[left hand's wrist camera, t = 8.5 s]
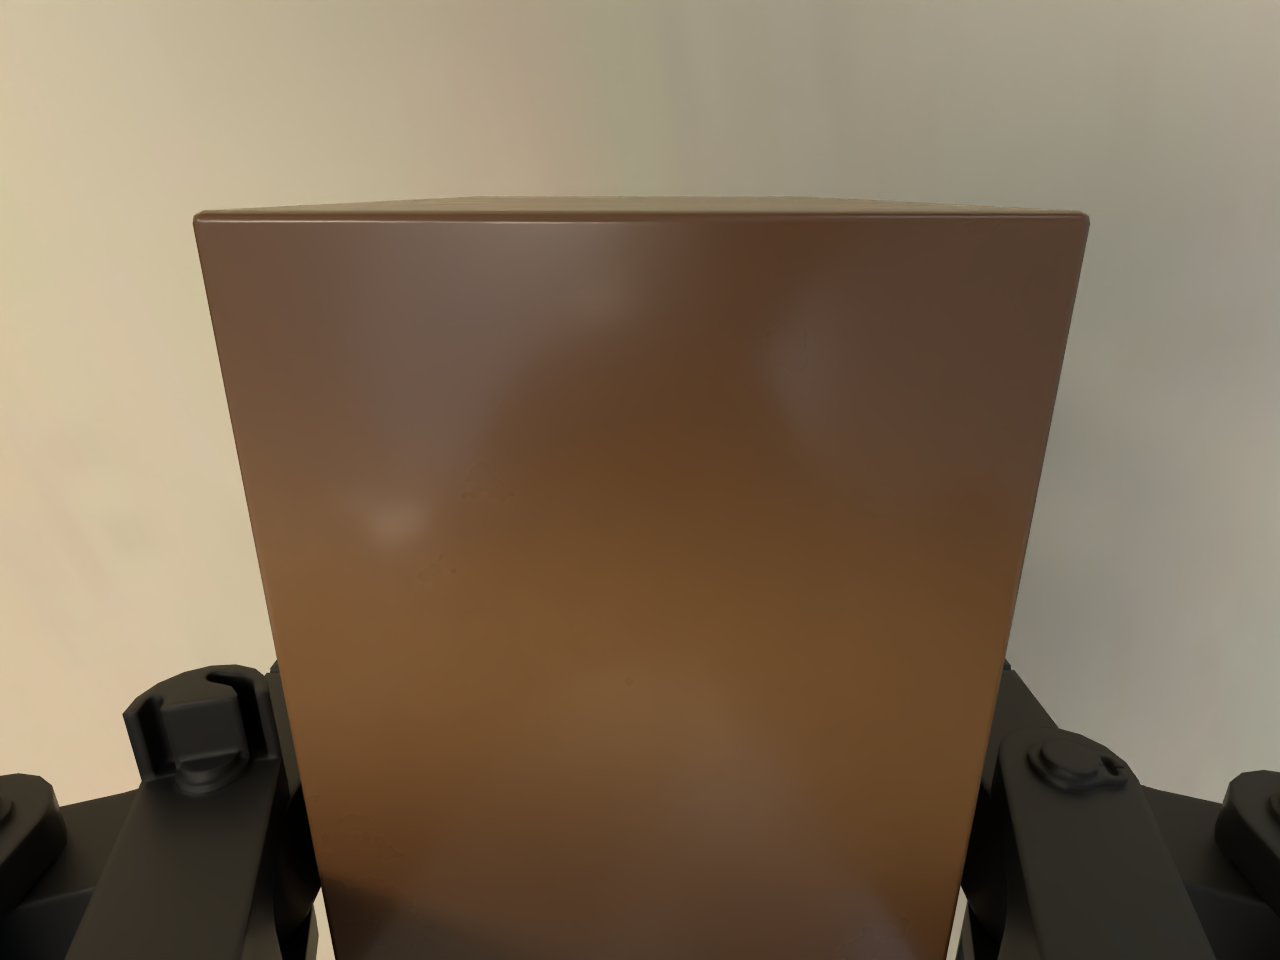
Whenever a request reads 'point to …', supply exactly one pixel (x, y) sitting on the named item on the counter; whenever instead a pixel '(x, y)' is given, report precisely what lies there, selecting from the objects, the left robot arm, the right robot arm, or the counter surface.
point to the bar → (641, 556)
